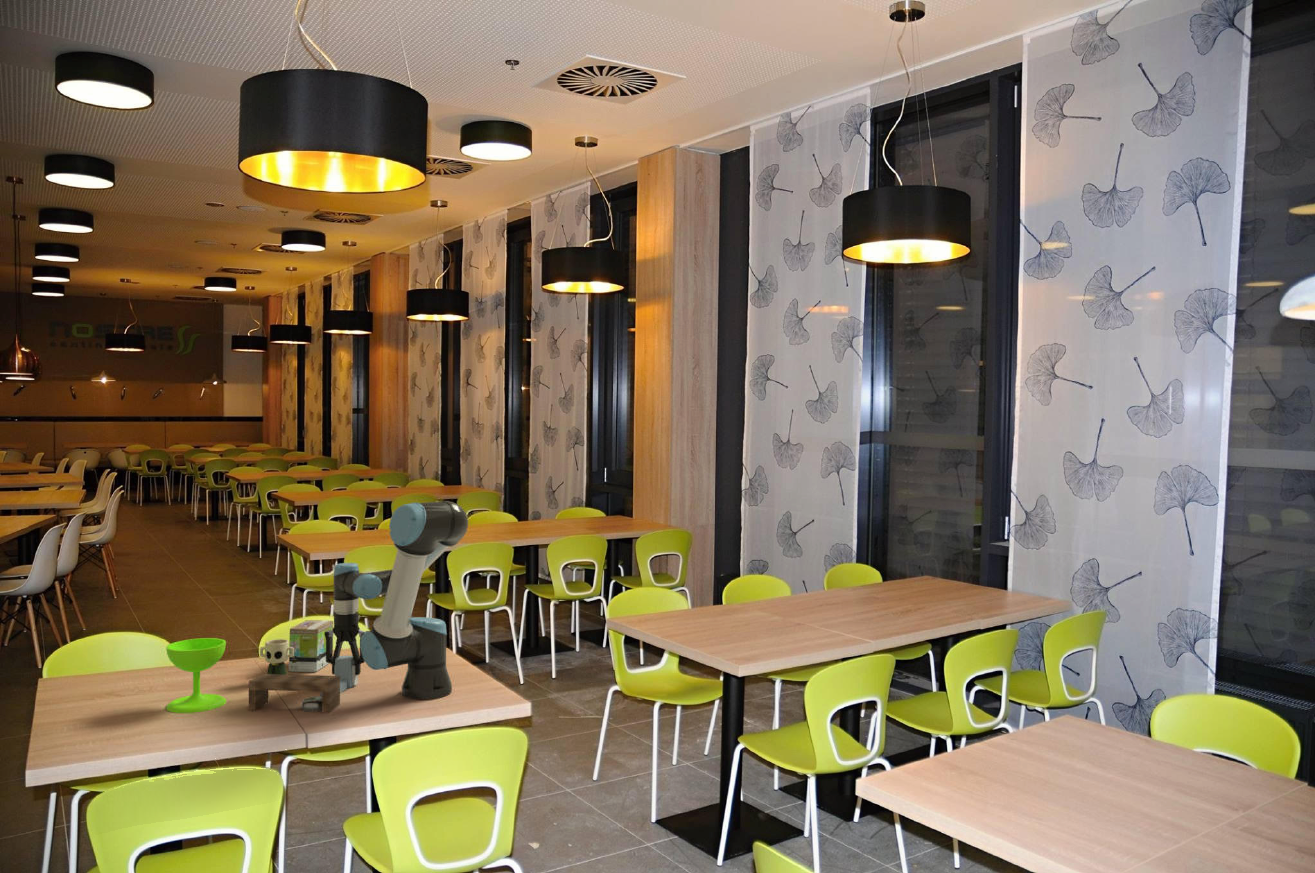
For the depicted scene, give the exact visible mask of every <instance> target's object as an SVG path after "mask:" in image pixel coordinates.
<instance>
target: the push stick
mask: <svg viewBox="0 0 1315 873" xmlns="http://www.w3.org/2000/svg"><path fill="white" fill-rule="evenodd" d="M353 665H354V660H353V656H352V655H343V654H342V655H340V656H339V657H338V658H337V659H335V675H334V676H340V694H341V693H343V692H344V691H345V690H347V689H351V688H353V687H354V686H352V666H353ZM319 697H322V692H320V695H319Z"/></svg>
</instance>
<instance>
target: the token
mask: <svg viewBox="0 0 1315 873" xmlns="http://www.w3.org/2000/svg"><path fill="white" fill-rule="evenodd" d="M301 711H303V712H309V713H310V712H311V713H312V712H313V713H314V712H322V697H320V696H310V697H306V698H304V699H302V700H301Z"/></svg>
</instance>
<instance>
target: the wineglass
mask: <svg viewBox="0 0 1315 873" xmlns="http://www.w3.org/2000/svg"><path fill="white" fill-rule="evenodd" d="M226 644H227V641H226V640H225V639H222V638H216V637H205V638H203V637H201V638H191V639H184V640H179V641H176V642H172V643H169V644H167V646H166V647H165V649H166V654H167V657H168V659H169V660H170V662H171V663H172V664H173V665H174V666H175V667H176V668H178V669H179V670H182V671H183V672H184V671H185V672H189V673H192V689H193V690H192V693H191V695H186V696H182V697H178V698H176V699H174V700H172V701H171V702H169V703H168V704H167V706H166V710H167V711H169V712H170V713H176V714H193V713H194V714H195V713H201V712H206V711H210V710H214V709H218V708H220V707H223V706H224V705H225V704H226V703H227V699H226V698H225V697H223V696H222V695H220V694H213V693H205V694H203V693H202V692H201V672H203V671H205V670H208V669H211V668H212V667H213V666H214V665H216V664H218V662H219V661H220V660H221V658H222V657H223V655H224V653H225V650H226Z"/></svg>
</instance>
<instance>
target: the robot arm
mask: <svg viewBox="0 0 1315 873" xmlns="http://www.w3.org/2000/svg"><path fill="white" fill-rule="evenodd" d="M468 526H469V519H468V516H467V513H466V511H465V510H464V509H463V507H462V506H460V505H459V504H457V503H455V502H453V501H449V500H443V501H441V500H440V501H430V502H411V503H407V504H402V505H400V506H399V507H397V508H396V509H395V510H394V511H393V513H392V515H391V518H390V521H389V537H390V539H391V541H392V542H393V546H394V547H395V548H396V550H397V551H396V555H395V559H394V563H393V566H392V569H386V570H381V571H380V570H379V571H372V572H371V571H369V572H360V570H359V565H358V563H355V562H344V563H343V562H342V563H337V564H335V565H334V567H333V577H332V578H333V612H334V613H333V630H328V631H326V632H325V633H324V635H325V638H326V662H327V663H329V664H331V675H333V676H335V659H337V658H338V657H340V656H341V652H342V651H341V650H342V647H343V644H344V642H347V643H348V645H349V647H350V652H351V656H353V660H354V665H353V666H352V686H353V687H355V686H357V685H358V683H359V677H358V676H360V674H361V672H362V671H361V665H362V664H364V663H365V664H366V665H367V666H368V667H369V668H370V669H372V670H374V671H378V670H387V669H389V668H393V667H398V666H403V665H407V670H406V673H405V676H404V680H403V683H402V686H401V696H402V697H404V698H406V699H407V698H408V699H410V700H411V699H412V700H413V699H414V700H431V699H437V698H443V697H445V696H448V695H450V694H451V693H453V692H452V691H453V689H452V687H453V686H452V681H451V679H450V678H451V677H450V675H449V672H448V669H447V635H448V633H447V624H446V622H445V621H444V620H442V619H440V618H434V617H424V616H423V617H422V616H421V617H420V616H417V617H416V616H415V617H413V616H412V614H413V612H414V611H413V609H414V606H415V603H416V599H417V595H418V591H419V588H420V583H421V580H422V576H423V573H424V572H425V571H426V570H427V569H429V567H430V566H431V565H432V564H433V563H434V562H435V561H436V560H438V559H439V557H441V555H442V554H444V553H445V551H446V550H447V549H448V548H449V547H454V546H456V545H457V544H458V543H459V542H460V541H461V540H462V539H463V538H464V537H465V535H466V533H467V531H468ZM379 596H385V598H384V601H383V606H382V609H381V614H380V616H379V617H376V619H375V620H374V621H373V623H372V627H371V630H365V631H364V630H362V629H361V628H360V627H359V621H360V620H359V619H360V618H359V614H360V613H359V612H358V611H359V599H363V600H374V599H375V598H377V597H379ZM334 636H335V637H336V641H335V646H334ZM357 636H358V637H359V648H358V643H357Z"/></svg>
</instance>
